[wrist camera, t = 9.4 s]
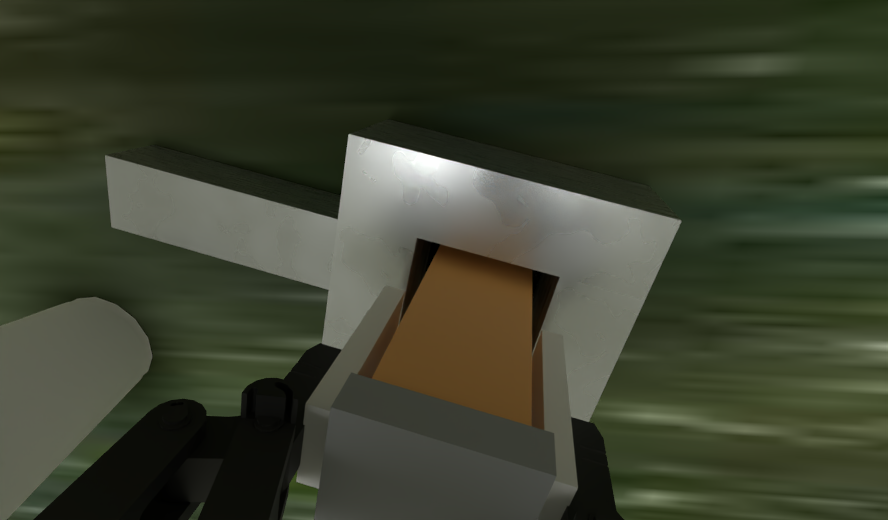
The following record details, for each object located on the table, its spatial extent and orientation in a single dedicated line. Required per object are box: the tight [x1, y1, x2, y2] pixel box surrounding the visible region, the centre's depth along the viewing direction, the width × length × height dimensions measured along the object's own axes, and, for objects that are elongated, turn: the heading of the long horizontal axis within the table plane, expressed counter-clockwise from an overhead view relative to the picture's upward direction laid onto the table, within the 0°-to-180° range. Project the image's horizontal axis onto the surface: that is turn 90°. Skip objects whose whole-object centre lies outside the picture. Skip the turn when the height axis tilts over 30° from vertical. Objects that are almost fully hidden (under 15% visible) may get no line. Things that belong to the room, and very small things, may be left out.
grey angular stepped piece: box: [105, 119, 682, 422], centre depth 17 cm, size 20×24×18 cm
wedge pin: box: [314, 244, 557, 520], centre depth 17 cm, size 5×5×14 cm
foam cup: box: [0, 297, 153, 520], centre depth 24 cm, size 10×9×13 cm
